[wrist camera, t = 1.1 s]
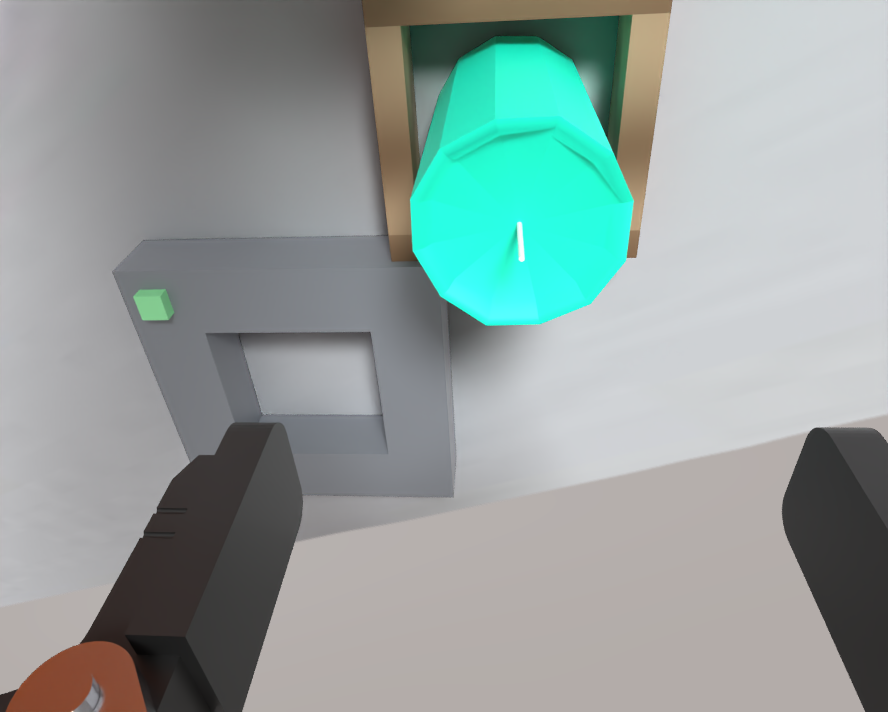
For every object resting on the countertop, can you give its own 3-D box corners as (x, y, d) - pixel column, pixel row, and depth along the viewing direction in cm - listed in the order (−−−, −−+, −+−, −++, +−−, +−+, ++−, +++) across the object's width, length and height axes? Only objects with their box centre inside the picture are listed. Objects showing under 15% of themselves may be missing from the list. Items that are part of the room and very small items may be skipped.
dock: (143, 240, 30) (105, 278, 27) (443, 234, 28) (437, 273, 25) (221, 454, 38) (198, 501, 35) (456, 457, 37) (452, 506, 34)
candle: (556, 205, 27) (589, 379, 18) (421, 167, 27) (378, 326, 17) (614, 59, 24) (694, 177, 14) (459, 12, 23) (433, 101, 13)
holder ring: (372, -23, 23) (360, -14, 21) (660, -38, 22) (676, -31, 20) (399, 235, 29) (391, 261, 27) (626, 230, 28) (636, 257, 26)
